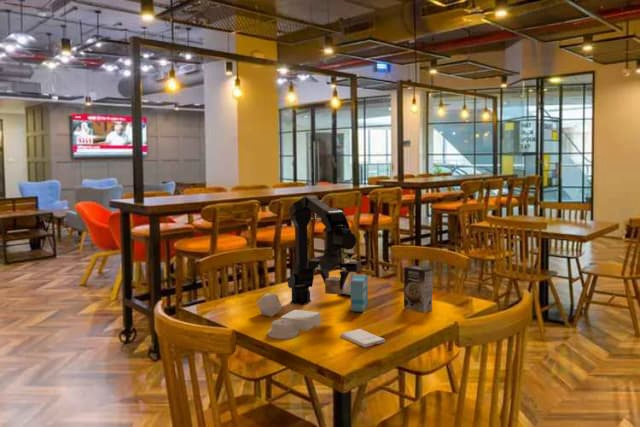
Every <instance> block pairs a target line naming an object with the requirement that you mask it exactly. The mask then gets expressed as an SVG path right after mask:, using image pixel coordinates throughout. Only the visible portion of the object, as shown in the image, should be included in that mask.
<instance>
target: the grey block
mask: <svg viewBox="0 0 640 427" xmlns="http://www.w3.org/2000/svg"><path fill="white" fill-rule="evenodd" d="M281 319H288V320H289V319H290V320H292V321H294V323H295V328H297V329H298V331H304V332H307V331H309V330H311V329H313V328H315V327H316V326H318V325H320V323H321V312H315V311H308V310H301V309H294V310H292V311H289V312H288V313H285V314H284V315H281V316H280V320H281Z"/></svg>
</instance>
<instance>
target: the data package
mask: <svg viewBox="0 0 640 427" xmlns="http://www.w3.org/2000/svg"><path fill="white" fill-rule="evenodd" d="M368 279H369V278H368V275H365V274H364V275H362V274H355V277H354V278H353V279H352V280H351V295H350V311H351V312H355V313H364V311H365V310H366V308H367V306H368V301H369V300H368V299H369V298H368V296H369V295H368V293H369V292H368V290H369V289H368V285H369V284H368V282H369V281H368Z"/></svg>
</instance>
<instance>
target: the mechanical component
mask: <svg viewBox="0 0 640 427" xmlns="http://www.w3.org/2000/svg"><path fill="white" fill-rule="evenodd" d="M299 331H300V330H298V329H297V328H295V323H294V321H292V320H290V319H289V320H288V319H281V318H280V319H276V320H274V321H272V323H271V328H270V329H268V331H267V333H268V334H267V335H268V336H269V337H270V338H272V339H278V340H288V339H294V338H296V337H298V336H299V333H300V332H299Z"/></svg>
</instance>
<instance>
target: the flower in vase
mask: <svg viewBox="0 0 640 427" xmlns="http://www.w3.org/2000/svg"><path fill="white" fill-rule="evenodd" d="M356 245H357V244H356ZM356 245H355V246H354V248H352V249H355V247H356ZM352 249H351V250H352ZM344 250H345V253H343V252H342V259H346V257H347V259H348V260H347V261H346V262H345V263H348V262H350V261H352V260H351V259H354V258H356V257H358V255H359V253H356V254H354V255H353V254H352V256H351V257H349V255H348V252H347V251H348V250H347V249H344ZM355 275H356V272H350V273H349V276H348V277H349V278H348V280H346V281H345V284H344V286H343V292H342V293H341V294H343V295H346V296H351V280H352V279H353V278H354V277H355Z"/></svg>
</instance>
